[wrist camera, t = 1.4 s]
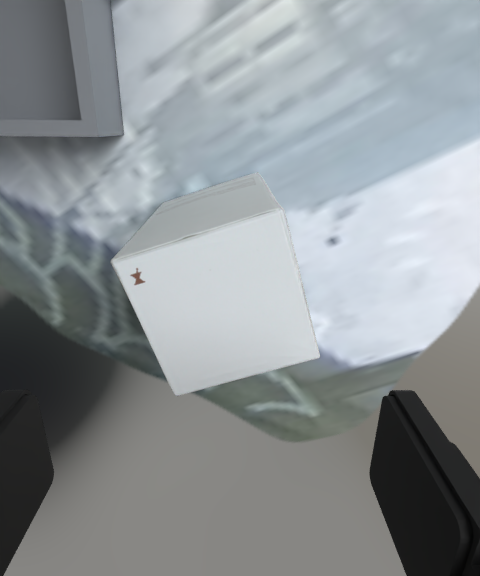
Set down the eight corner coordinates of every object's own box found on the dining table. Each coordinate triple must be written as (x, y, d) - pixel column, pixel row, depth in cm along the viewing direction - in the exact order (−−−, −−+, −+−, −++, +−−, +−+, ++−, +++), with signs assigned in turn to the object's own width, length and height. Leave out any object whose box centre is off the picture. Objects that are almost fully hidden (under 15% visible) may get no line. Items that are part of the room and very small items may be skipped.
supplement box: (195, 293, 30) (169, 402, 18) (160, 200, 27) (102, 257, 15) (288, 267, 29) (324, 363, 17) (262, 168, 26) (283, 203, 14)
